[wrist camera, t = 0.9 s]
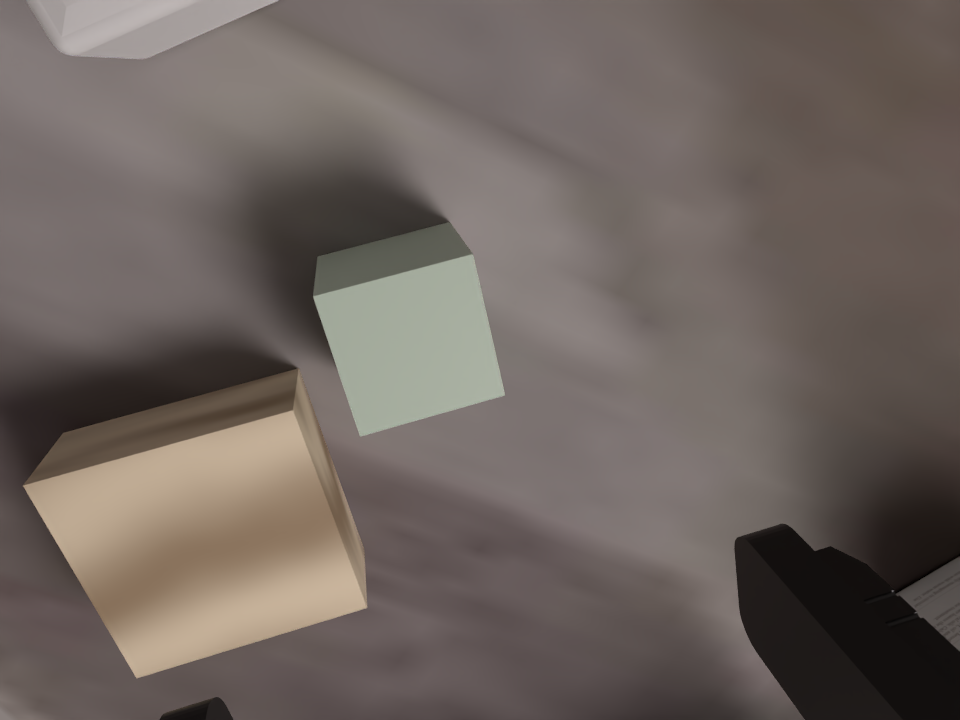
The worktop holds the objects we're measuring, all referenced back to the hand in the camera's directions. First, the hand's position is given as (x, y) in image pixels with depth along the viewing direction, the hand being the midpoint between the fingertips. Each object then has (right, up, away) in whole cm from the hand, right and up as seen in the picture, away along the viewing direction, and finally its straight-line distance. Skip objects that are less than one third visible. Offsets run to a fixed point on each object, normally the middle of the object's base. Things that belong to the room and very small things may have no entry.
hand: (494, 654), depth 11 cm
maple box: (-11, -1, +18) cm, 21 cm away
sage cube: (-3, +7, +16) cm, 18 cm away
